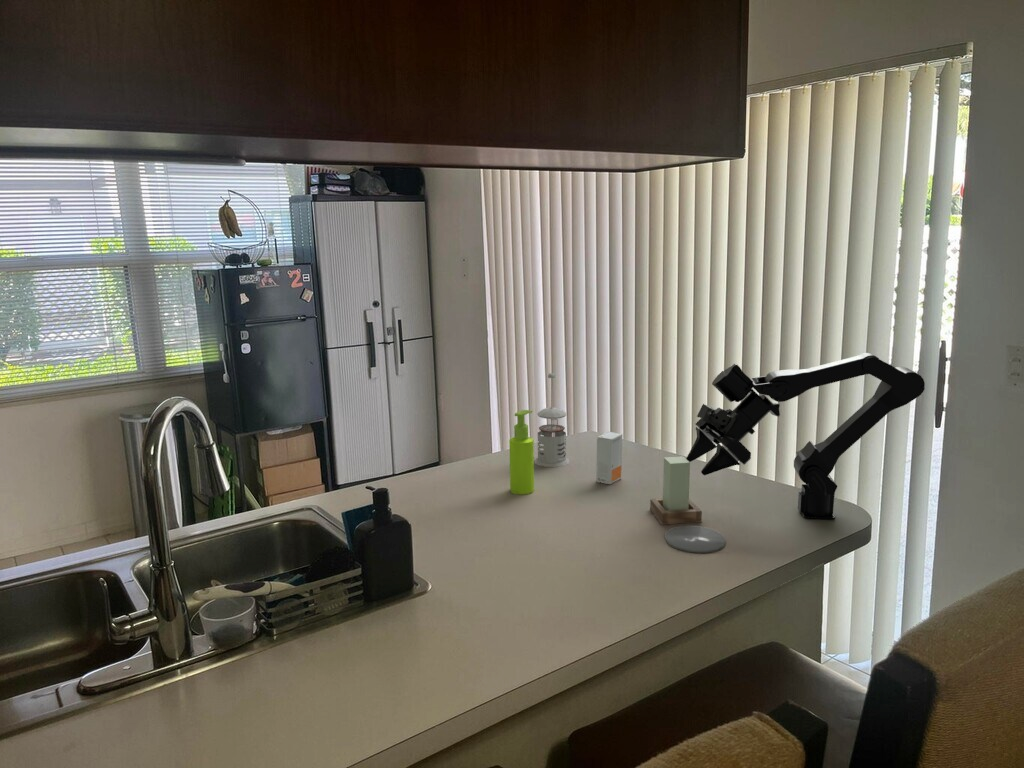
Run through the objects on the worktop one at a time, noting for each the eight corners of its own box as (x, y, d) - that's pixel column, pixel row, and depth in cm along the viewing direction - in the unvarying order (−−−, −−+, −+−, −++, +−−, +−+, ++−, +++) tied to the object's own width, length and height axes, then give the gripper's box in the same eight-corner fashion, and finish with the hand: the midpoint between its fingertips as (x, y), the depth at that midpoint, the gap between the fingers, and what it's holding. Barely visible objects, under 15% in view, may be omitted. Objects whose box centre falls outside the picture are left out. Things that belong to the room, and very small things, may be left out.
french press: (532, 466, 198) (530, 376, 192) (537, 453, 209) (536, 368, 204) (568, 467, 196) (567, 377, 191) (571, 454, 207) (571, 368, 202)
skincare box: (610, 485, 182) (611, 439, 179) (595, 482, 184) (596, 436, 182) (622, 478, 187) (623, 433, 184) (607, 475, 189) (608, 431, 187)
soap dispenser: (540, 487, 181) (539, 410, 177) (526, 496, 176) (524, 416, 171) (520, 483, 184) (519, 407, 180) (505, 492, 179) (504, 413, 174)
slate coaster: (720, 529, 154) (720, 527, 154) (728, 554, 142) (728, 551, 142) (663, 527, 156) (663, 524, 156) (666, 551, 144) (666, 548, 144)
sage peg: (681, 511, 164) (683, 456, 162) (688, 518, 160) (690, 462, 157) (662, 512, 164) (663, 457, 161) (668, 519, 160) (670, 463, 157)
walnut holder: (687, 506, 167) (687, 496, 166) (701, 521, 158) (701, 511, 158) (650, 509, 166) (650, 498, 165) (662, 524, 157) (662, 513, 157)
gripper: (705, 383, 166) (657, 431, 168) (739, 402, 148) (685, 456, 149) (736, 415, 169) (689, 462, 170) (773, 437, 151) (720, 490, 152)
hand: (694, 467), depth 160 cm, fingers open, 9 cm apart
